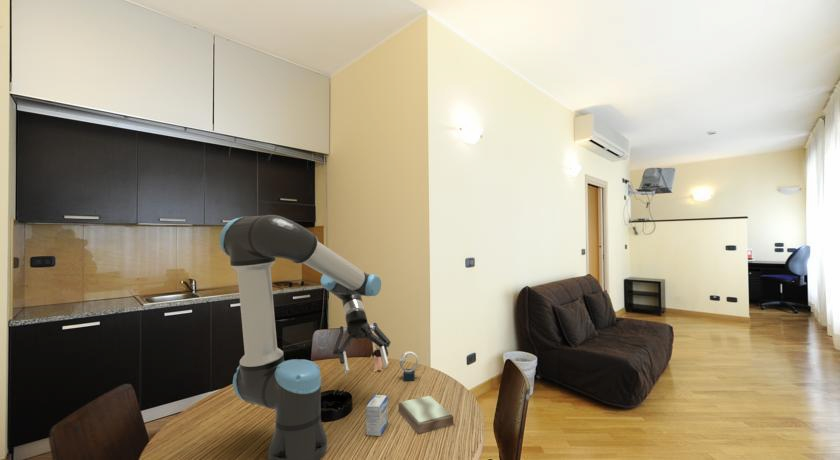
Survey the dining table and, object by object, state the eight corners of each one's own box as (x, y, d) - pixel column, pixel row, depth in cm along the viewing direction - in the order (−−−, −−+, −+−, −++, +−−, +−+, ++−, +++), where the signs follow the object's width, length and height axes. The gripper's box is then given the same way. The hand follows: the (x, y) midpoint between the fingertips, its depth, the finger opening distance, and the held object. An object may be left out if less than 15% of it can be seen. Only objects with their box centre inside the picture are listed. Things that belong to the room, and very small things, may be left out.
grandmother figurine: (372, 373, 151) (372, 344, 152) (369, 370, 155) (369, 341, 155) (388, 370, 155) (388, 341, 156) (385, 367, 159) (385, 339, 159)
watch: (399, 376, 148) (399, 350, 148) (418, 376, 147) (418, 350, 148) (398, 381, 142) (398, 354, 143) (418, 381, 142) (417, 354, 142)
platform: (418, 433, 103) (418, 423, 103) (398, 410, 117) (398, 401, 117) (453, 424, 108) (453, 414, 108) (430, 403, 122) (430, 394, 122)
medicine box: (380, 437, 101) (380, 406, 102) (365, 435, 102) (365, 405, 103) (388, 423, 109) (388, 395, 109) (374, 422, 110) (374, 394, 110)
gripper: (384, 317, 138) (399, 367, 124) (320, 324, 127) (327, 380, 113) (389, 306, 133) (404, 357, 119) (322, 312, 123) (330, 369, 109)
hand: (367, 368), depth 116 cm, fingers open, 13 cm apart
